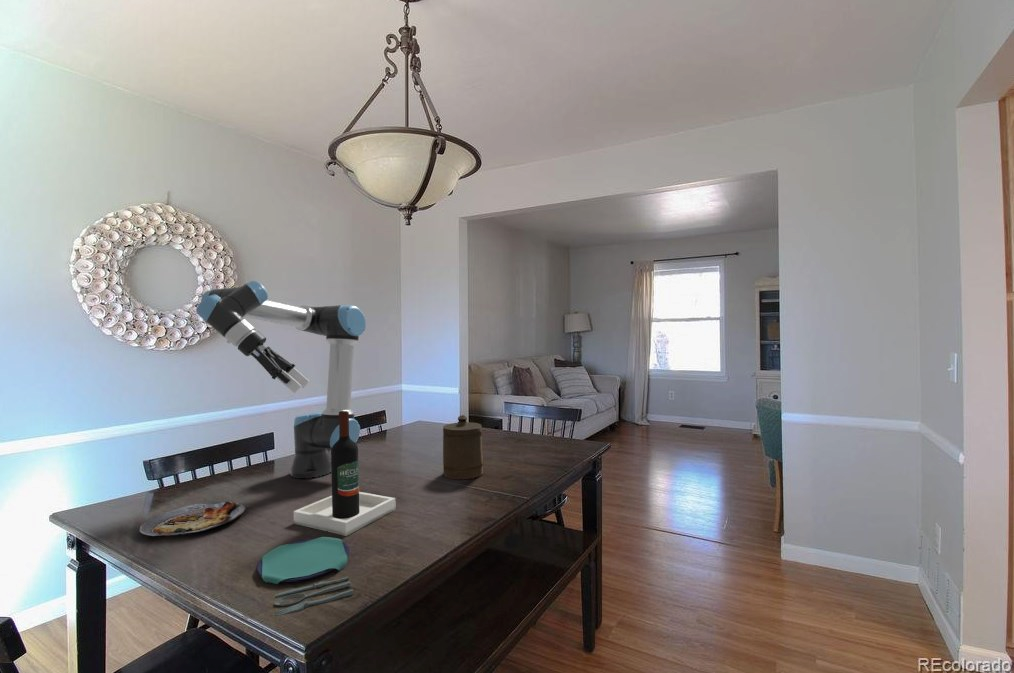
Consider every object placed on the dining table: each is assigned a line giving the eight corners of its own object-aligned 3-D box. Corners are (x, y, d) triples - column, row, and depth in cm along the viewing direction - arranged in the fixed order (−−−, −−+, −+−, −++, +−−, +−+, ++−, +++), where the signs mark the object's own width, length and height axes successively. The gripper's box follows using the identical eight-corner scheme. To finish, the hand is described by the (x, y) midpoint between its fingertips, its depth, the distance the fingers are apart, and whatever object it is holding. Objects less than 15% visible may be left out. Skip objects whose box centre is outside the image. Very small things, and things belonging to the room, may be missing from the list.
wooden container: (473, 466, 188) (472, 411, 187) (489, 476, 174) (488, 416, 174) (438, 471, 181) (437, 414, 181) (451, 482, 168) (450, 420, 167)
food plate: (257, 504, 149) (256, 493, 149) (226, 536, 126) (225, 523, 126) (169, 513, 145) (169, 501, 145) (121, 548, 122) (121, 534, 122)
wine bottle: (352, 506, 143) (350, 408, 143) (364, 513, 138) (361, 411, 138) (327, 513, 138) (325, 411, 138) (339, 521, 133) (336, 414, 132)
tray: (293, 523, 134) (293, 511, 133) (346, 500, 151) (346, 489, 151) (346, 535, 125) (346, 522, 125) (395, 509, 143) (395, 498, 143)
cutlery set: (344, 538, 124) (343, 529, 124) (363, 597, 97) (363, 586, 97) (258, 556, 115) (258, 547, 115) (254, 626, 88) (253, 614, 88)
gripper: (249, 346, 151) (300, 391, 155) (222, 349, 127) (284, 402, 130) (267, 329, 152) (317, 374, 156) (243, 329, 128) (304, 382, 132)
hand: (302, 387), depth 143 cm, fingers open, 13 cm apart
